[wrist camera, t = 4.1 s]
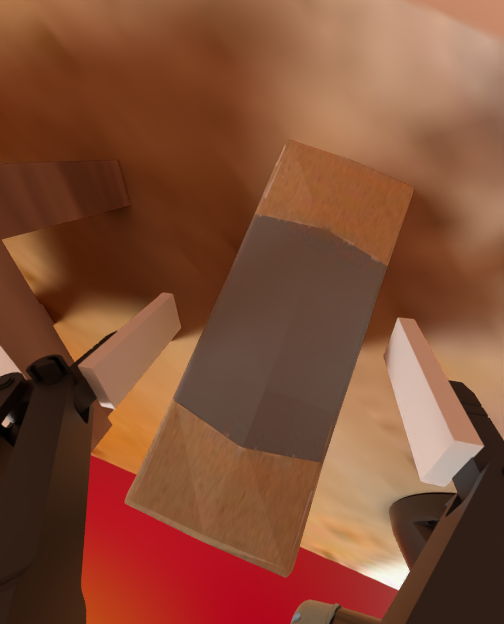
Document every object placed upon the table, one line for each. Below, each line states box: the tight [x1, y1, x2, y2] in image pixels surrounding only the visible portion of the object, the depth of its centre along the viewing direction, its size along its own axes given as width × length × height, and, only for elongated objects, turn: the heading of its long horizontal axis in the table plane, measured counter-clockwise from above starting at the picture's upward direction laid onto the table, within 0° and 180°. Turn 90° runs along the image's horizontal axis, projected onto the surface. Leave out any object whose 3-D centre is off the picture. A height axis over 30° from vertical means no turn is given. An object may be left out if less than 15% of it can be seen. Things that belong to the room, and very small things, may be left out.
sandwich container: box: [125, 140, 414, 577], centre depth 12 cm, size 9×15×15 cm, turn 163°
